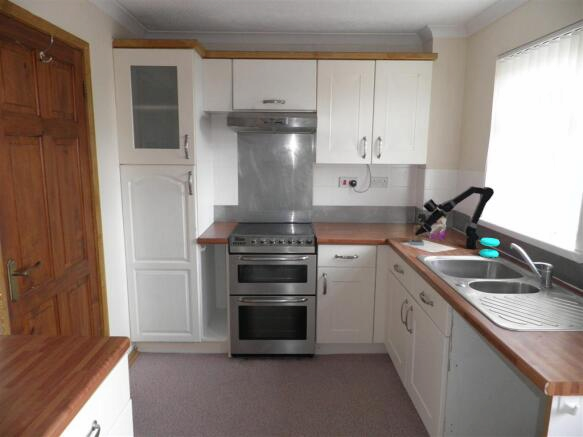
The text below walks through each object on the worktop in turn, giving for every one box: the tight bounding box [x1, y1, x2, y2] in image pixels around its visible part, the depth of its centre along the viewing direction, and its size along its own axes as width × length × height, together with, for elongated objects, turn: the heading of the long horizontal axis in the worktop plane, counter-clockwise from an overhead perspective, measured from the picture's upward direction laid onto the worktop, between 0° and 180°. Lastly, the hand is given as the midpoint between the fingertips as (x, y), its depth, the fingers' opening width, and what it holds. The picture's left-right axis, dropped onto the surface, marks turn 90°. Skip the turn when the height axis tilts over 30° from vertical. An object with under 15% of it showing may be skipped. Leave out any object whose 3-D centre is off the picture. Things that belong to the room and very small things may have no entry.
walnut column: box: [412, 224, 422, 242], centre depth 254 cm, size 4×4×11 cm
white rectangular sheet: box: [400, 239, 457, 253], centre depth 250 cm, size 21×27×1 cm
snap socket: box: [409, 239, 424, 246], centre depth 255 cm, size 8×8×2 cm
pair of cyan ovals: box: [479, 237, 501, 259], centre depth 229 cm, size 10×10×10 cm
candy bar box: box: [427, 215, 448, 240], centre depth 275 cm, size 11×5×16 cm, turn 74°
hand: (415, 234), depth 254 cm, fingers closed on walnut column, 4 cm apart
